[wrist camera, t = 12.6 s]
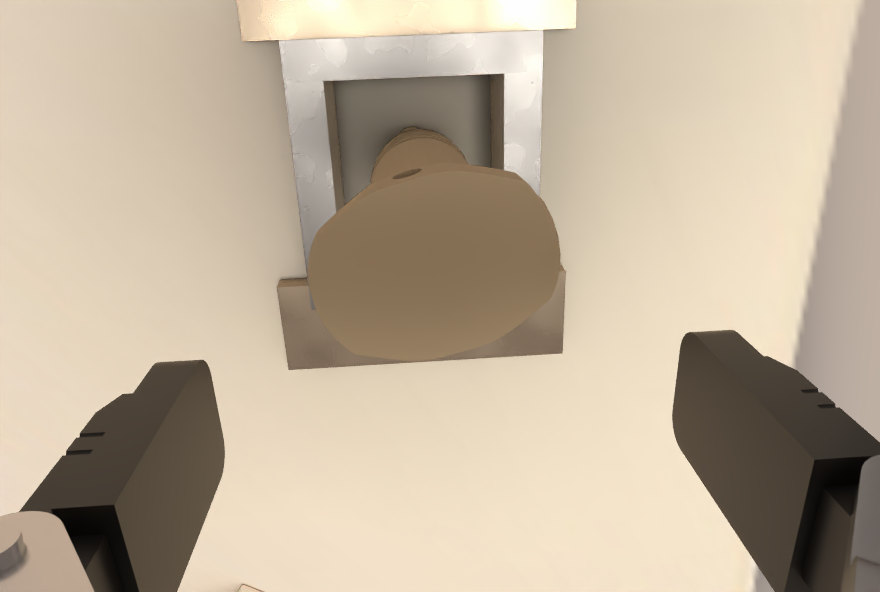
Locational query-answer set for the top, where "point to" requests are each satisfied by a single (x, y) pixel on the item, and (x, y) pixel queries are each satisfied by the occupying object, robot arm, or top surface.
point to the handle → (432, 254)
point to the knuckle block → (401, 56)
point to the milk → (247, 589)
